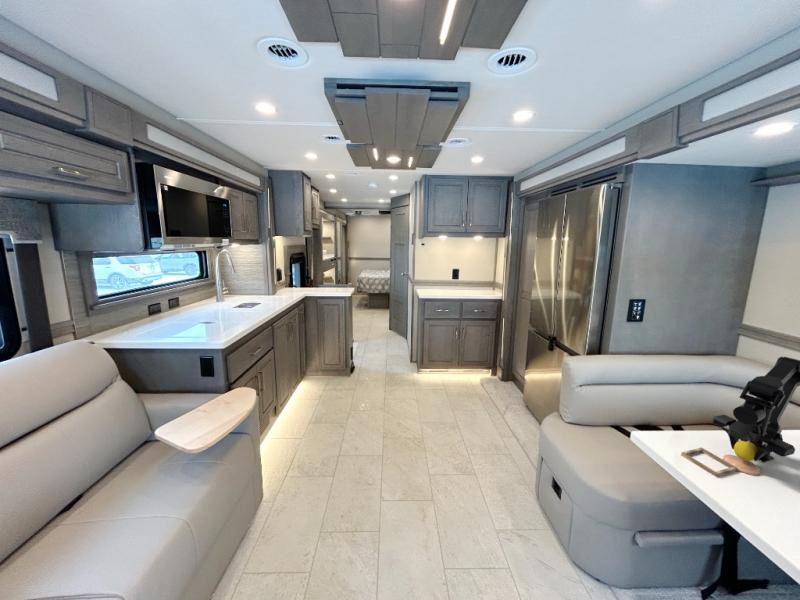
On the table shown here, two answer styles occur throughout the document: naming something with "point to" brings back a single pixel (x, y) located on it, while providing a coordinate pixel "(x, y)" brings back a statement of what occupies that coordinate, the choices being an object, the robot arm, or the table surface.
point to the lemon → (745, 450)
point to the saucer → (742, 465)
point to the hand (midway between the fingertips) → (744, 454)
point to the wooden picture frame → (698, 450)
